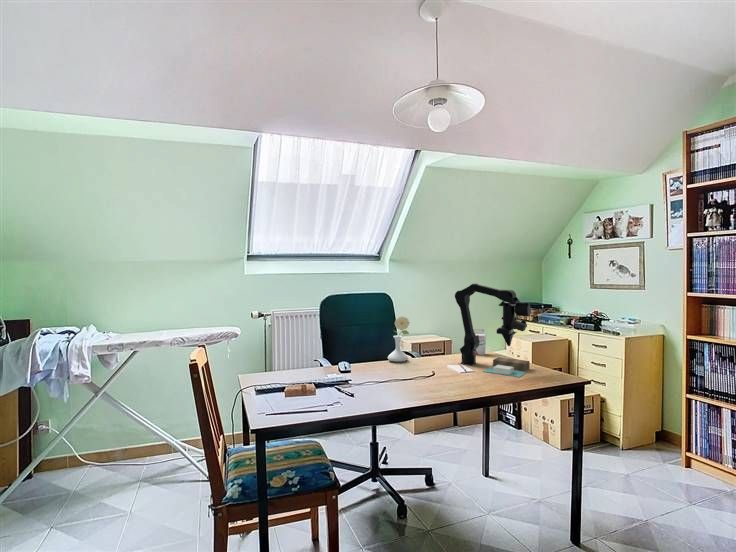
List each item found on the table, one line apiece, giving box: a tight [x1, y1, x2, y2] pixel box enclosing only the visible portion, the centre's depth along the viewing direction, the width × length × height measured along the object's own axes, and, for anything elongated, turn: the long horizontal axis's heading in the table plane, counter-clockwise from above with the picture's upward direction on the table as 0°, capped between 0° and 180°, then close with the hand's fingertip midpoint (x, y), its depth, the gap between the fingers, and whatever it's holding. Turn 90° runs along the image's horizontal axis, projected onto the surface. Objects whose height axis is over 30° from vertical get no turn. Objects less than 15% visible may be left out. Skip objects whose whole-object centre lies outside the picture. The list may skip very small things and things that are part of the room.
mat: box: [482, 366, 527, 378], centre depth 212 cm, size 18×11×1 cm, turn 53°
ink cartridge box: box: [473, 328, 487, 356], centre depth 253 cm, size 9×5×15 cm, turn 84°
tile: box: [492, 365, 514, 375], centre depth 211 cm, size 8×6×2 cm
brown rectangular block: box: [492, 356, 530, 372], centre depth 220 cm, size 16×8×4 cm, turn 53°
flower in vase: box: [387, 316, 410, 363], centre depth 237 cm, size 13×11×25 cm
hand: (508, 346), depth 217 cm, fingers closed
